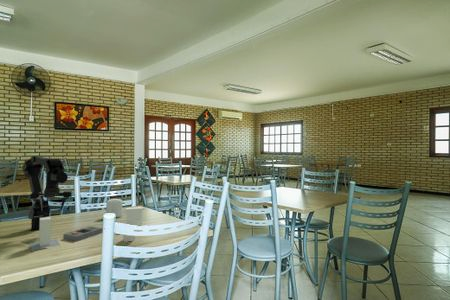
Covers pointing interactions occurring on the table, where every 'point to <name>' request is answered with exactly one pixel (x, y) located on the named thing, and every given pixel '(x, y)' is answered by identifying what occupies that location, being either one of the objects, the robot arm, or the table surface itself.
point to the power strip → (82, 233)
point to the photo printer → (114, 207)
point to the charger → (45, 231)
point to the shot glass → (128, 238)
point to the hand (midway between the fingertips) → (51, 210)
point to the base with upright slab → (134, 216)
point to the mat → (36, 246)
